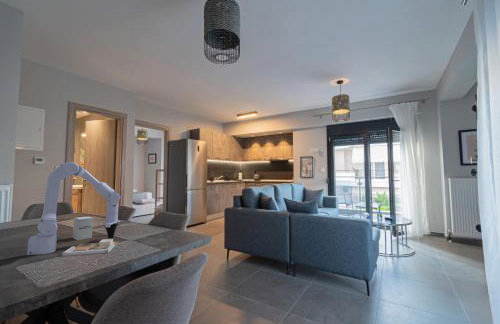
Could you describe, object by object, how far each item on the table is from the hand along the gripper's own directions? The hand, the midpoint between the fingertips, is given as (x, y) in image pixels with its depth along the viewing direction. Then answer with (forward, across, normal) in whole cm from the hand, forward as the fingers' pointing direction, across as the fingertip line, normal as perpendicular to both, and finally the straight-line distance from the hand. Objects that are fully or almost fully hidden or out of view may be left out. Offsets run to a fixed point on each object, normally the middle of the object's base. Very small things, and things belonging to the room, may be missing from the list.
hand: (110, 238), depth 126 cm
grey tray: (+2, -18, +4) cm, 19 cm away
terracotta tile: (+2, -16, +8) cm, 18 cm away
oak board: (+2, -8, +4) cm, 10 cm away
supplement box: (+3, +10, +17) cm, 20 cm away
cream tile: (+1, -8, 0) cm, 8 cm away
